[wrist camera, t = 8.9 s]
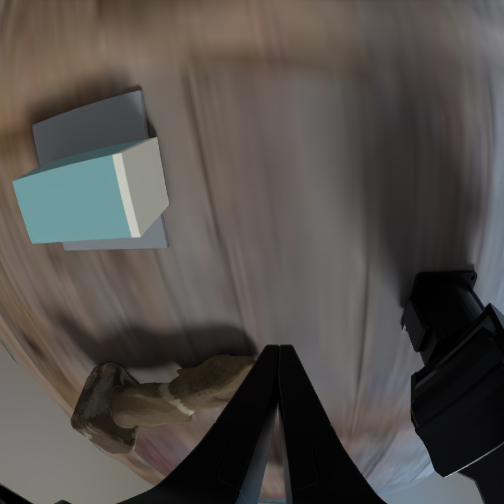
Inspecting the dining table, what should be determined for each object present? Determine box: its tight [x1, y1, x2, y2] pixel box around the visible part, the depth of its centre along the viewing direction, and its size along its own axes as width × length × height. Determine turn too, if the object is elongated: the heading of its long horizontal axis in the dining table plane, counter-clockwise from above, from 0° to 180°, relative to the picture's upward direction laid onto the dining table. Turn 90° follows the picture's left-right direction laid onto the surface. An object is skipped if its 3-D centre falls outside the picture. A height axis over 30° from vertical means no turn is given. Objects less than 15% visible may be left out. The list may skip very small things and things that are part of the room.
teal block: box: [12, 137, 169, 244], centre depth 18 cm, size 5×5×10 cm
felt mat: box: [32, 90, 169, 250], centre depth 21 cm, size 11×12×1 cm
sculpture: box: [71, 354, 256, 453], centre depth 30 cm, size 8×22×15 cm
